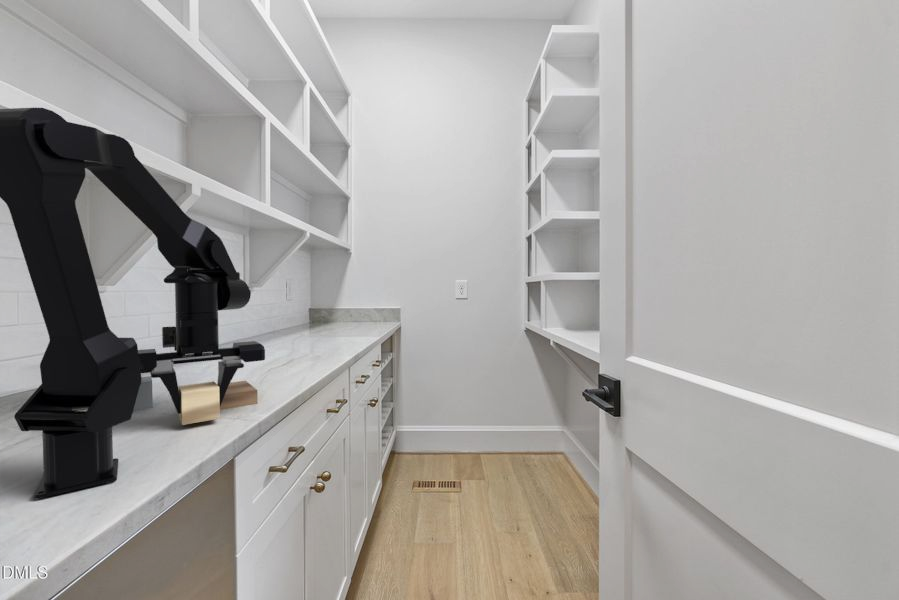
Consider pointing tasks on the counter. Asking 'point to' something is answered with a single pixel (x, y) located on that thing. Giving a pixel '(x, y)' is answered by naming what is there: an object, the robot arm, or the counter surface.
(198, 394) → the maple cube
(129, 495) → the counter surface
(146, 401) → the slate cube
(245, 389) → the walnut block
